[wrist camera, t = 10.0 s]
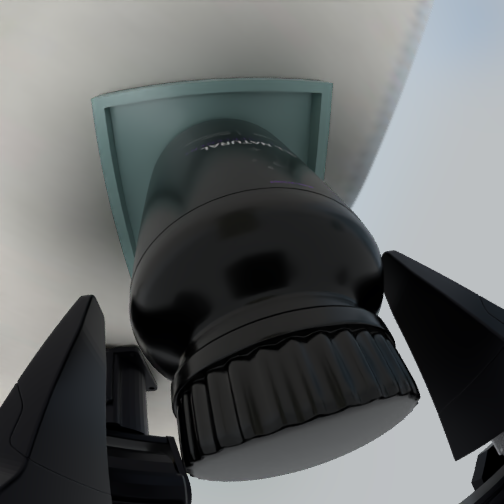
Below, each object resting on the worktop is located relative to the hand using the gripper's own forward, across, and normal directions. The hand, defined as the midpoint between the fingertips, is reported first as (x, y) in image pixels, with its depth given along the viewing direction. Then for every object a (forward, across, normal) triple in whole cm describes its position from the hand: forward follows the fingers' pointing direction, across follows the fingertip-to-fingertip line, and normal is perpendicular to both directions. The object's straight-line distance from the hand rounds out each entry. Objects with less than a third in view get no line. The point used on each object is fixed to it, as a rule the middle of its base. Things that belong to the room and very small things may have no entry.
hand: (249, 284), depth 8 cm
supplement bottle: (+7, 0, 0) cm, 7 cm away
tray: (+8, 0, 0) cm, 8 cm away
